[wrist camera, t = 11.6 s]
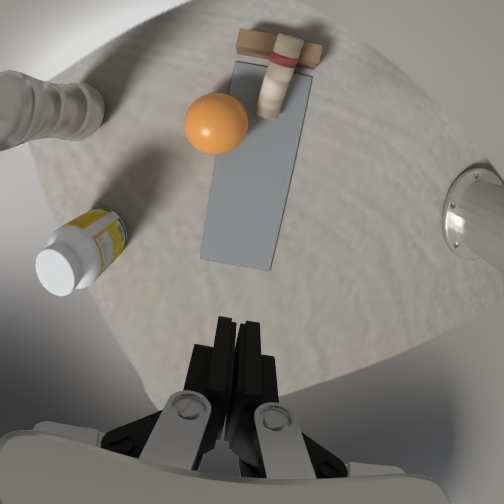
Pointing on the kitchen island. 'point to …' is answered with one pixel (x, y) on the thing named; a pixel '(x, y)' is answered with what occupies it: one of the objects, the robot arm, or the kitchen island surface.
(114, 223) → the pill bottle
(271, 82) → the pin
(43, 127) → the plastic bottle
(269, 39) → the back wall
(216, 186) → the plate
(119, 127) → the kitchen island surface
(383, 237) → the kitchen island surface
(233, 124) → the ball
